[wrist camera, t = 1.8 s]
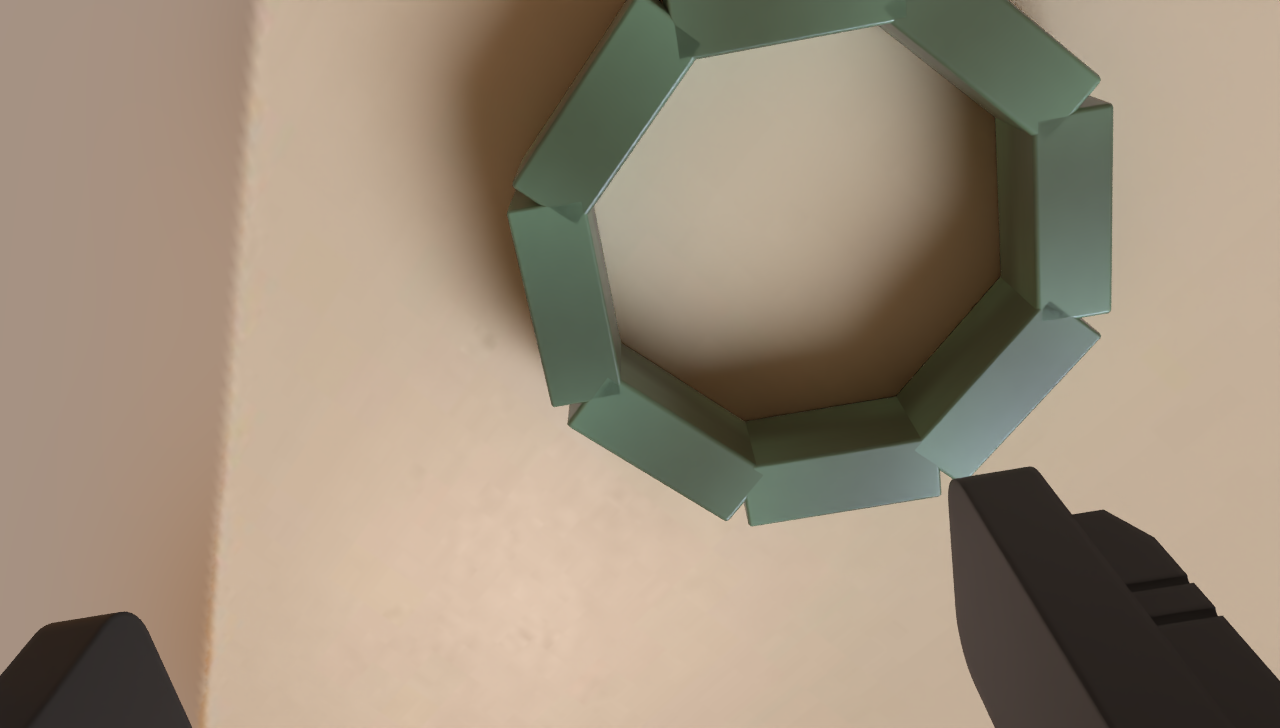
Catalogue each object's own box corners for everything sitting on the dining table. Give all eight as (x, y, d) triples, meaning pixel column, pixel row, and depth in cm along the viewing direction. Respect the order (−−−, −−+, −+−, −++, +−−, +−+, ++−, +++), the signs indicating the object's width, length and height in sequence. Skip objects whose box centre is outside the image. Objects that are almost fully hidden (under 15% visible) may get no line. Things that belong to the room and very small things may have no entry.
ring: (588, 503, 22) (586, 554, 21) (475, 4, 18) (458, 12, 16) (1070, 424, 22) (1111, 469, 20) (1065, -108, 18) (1117, -112, 16)
